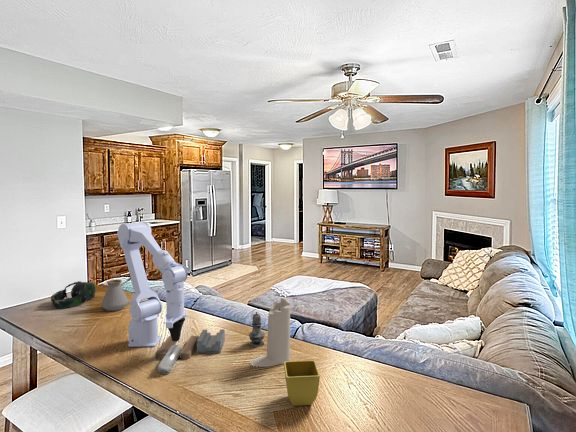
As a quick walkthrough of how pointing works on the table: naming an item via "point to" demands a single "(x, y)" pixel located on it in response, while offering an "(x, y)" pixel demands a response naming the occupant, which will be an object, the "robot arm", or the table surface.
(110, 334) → the table surface
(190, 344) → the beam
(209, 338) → the v block
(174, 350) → the axle
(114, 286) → the coffee pot
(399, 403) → the table surface
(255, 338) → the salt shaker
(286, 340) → the white boot
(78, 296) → the headphones
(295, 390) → the flower pot
